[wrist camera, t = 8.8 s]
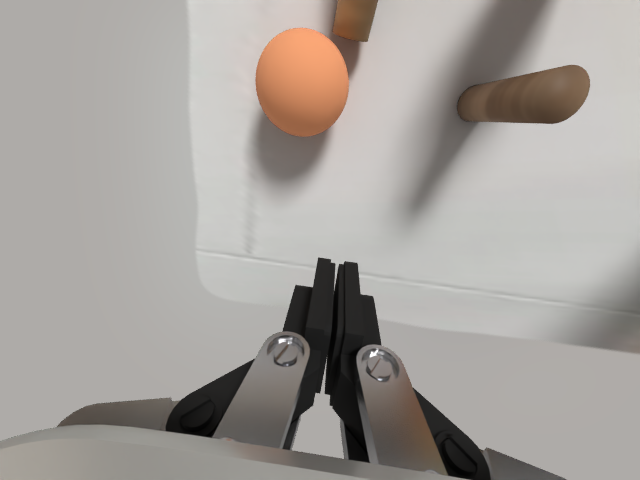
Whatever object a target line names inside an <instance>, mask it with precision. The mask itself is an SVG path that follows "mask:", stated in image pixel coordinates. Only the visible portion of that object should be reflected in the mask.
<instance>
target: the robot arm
mask: <svg viewBox="0 0 640 480" xmlns="http://www.w3.org/2000/svg"><path fill="white" fill-rule="evenodd" d="M334 279H335V263H331V259H325V258H318V262H317V268H316V274H315V279H314V285H313V287H306V286H299V285H296V286H295V289H294V292H293V296H292V299H291V303H290V306H289V310H288V313H287V317H286V321H285V324H284V328H283V331H282V332H279V333H276V334H273V335H272V336H270V337H269V338H268V339H267V340H266V341H265V342H264V344H263V346H262V347H261V349H260V351H259V353H258V355H257V356H256V358H255V359H253V360H252V361H249V362H248V363H246V364H244V365H242V366H240V367H238V368H237V369H235V370H233V371H231V372H229V373H227V374H225V375H224V376H222V377H220V378H218V379H216V380H215V381H213V382H211V383H209V384H207V385H205V386H203V387H202V388H200V389H198V390H196V391H194V392H192V393H191V394H189V395H187V396H186V397H185V398H183V399H182V400H181V401H172V400H171V398H159V399H147V400H135V401H123V402H112V403H111V402H110V403H98V404H93V405H89V406H85V407H83V408H81V409H79V410H77V411H75V412H73V413H72V414H70V415H69V416H68V417H66V418H65V419H64V420H63V421H61V422H60V424H59V425H58V426H57V427H55V428H50V429H45V430H39V431H34V432H30V433H27V434H23V435H19V436H15V437H11V438H8V439H5V440H2V441H0V480H566V479H565V478H563V477H560V476H558V475H555V474H553V473H550V472H547V471H545V470H542V469H540V468H537V467H535V466H532V465H530V464H527V463H525V462H522V461H520V460H517V459H514V458H512V457H509V456H507V455H505V454H502V453H500V452H497V451H495V450H492V449H489V448H486V449H485V450H481V449H479V448H478V447H477V445H476V444H474V442H473V441H472V440H471V439H470V438H469V437H468V436H467V435H466V434H464V433H463V432H462V431H461V430H460V429H459V428H458V427H457V426H455V425H454V424H453V423H452V422H451V421H450V420H449V419H448V418H446V417H445V416H444V415H443V414H442V413H441V412H440V411H439V410H437V409H436V408H435V407H434V406H433V405H432V404H431V403H430V402H429V401H427V400H426V399H425V398H424V397H423V396H422V395H421V394H420V393H418V392H417V391H416V390H415V389H414V388H413V387H412V385H411V382H410V380H409V377H408V375H407V372H406V370H405V367H404V365H403V363H402V361H401V359H400V358H399V357H398V356H397V355H396V354H395V353H394V352H393V351H391V350H390V349H388V348H386V347H384V346H382V345H381V339H380V334H379V328H378V321H377V315H376V309H375V303H374V298H373V296H368V295H361V294H360V284H359V273H358V264H357V263H353V262H346V261H345V262H344V265H343V264H339V267H338V273H337V279H336V284H335V290H334ZM326 359H327V367H326V381H325V382H326V383H325V394H328V395H330V406H333V409H334V410H335V412H336V413H337V414H338V416H339V417H340V418H341V419H340V428H341V437H342V445H343V453H344V459H341V458H334V457H328V456H322V455H316V454H310V453H303V452H298V451H291V450H292V447H293V443H294V439H295V436H296V433H297V429H298V425H299V422H300V417H301V414H302V413H304V412H305V411H306V410H307V409H309V408H310V407H311V406H313V403H314V397H315V393H320V391H321V385H322V380H323V375H324V369H325V364H326Z"/></svg>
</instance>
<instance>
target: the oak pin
mask: <svg viewBox="0 0 640 480" xmlns="http://www.w3.org/2000/svg"><path fill="white" fill-rule="evenodd" d="M377 3H378V0H338V3H337V9H336V15H335V21H334V26H333V33H334V34H336V35H338V36H341V37H344V38H347V39H351V40H356V41H362V42H367V41H368V37H369V34H370V30H371V26H372V22H373V18H374V14H375V10H376V6H377Z"/></svg>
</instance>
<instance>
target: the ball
mask: <svg viewBox="0 0 640 480" xmlns="http://www.w3.org/2000/svg"><path fill="white" fill-rule="evenodd" d="M348 89H349V79H348V72H347V68H346V64H345V61H344V59H343V57H342V55H341V53H340V51H339V50H338V48H337V47H336V46H335V45H334V43H333V42H332V41H331V40H330V39H328V38H327V37H326V36H324V35H323V34H321V33H319V32H317V31H315V30H312V29H307V28H293V29H289V30H286V31H284V32H282V33H280V34H279V35H277V36H276V37H274V38H273V39H272V40H271V41H270V42H269V43H268V44H267V46H266V47H265V49H264V50H263V52H262V54H261V56H260V59H259V62H258V65H257V70H256V91H257V96H258V99H259V102H260V105H261V107H262V109H263V111H264V113H265V114H266V115H267V117H268V118H269V120H270V121H271V122H272V123H273V124H274V125H275V126H277V127H278V128H279V129H281V130H282V131H284V132H286V133H288V134H291V135H294V136H301V137H307V136H313V135H317V134H319V133H321V132H323V131H325V130H327V129H328V128H329V127H331V126H332V125H333V124H334V123H335V121H336V120H337V119H338V118H339V116H340V115H341V113H342V111H343V109H344V107H345V104H346V100H347V97H348Z"/></svg>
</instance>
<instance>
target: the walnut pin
mask: <svg viewBox="0 0 640 480" xmlns="http://www.w3.org/2000/svg"><path fill="white" fill-rule="evenodd" d="M589 88H590V79H589V76H588V73H587V72H586V70H584V69H583V68H582V67H580V66H577V65H567V66H563V67H558V68H553V69H549V70H544V71H540V72H535V73H530V74H526V75H521V76H517V77H512V78H507V79H503V80H498V81H494V82H489V83H484V84H480V85H475V86H472V87H470V88H468V89H467V90H466V91H464V92H463V94H462V95H461V97H460V98H459V101H458V105H457V111H458V114H459V116H460V117H461V118H462V119H463V120H465V121H476V122H511V123H545V124H554V123H559V122H562V121H564V120H566V119H568V118H569V117H571V116H572V115H573V114H575V113H576V112H577V111H578V110H579V109H580V107H581V106H582V105H583V103H584V101H585V100H586V98H587V95H588V92H589Z"/></svg>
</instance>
